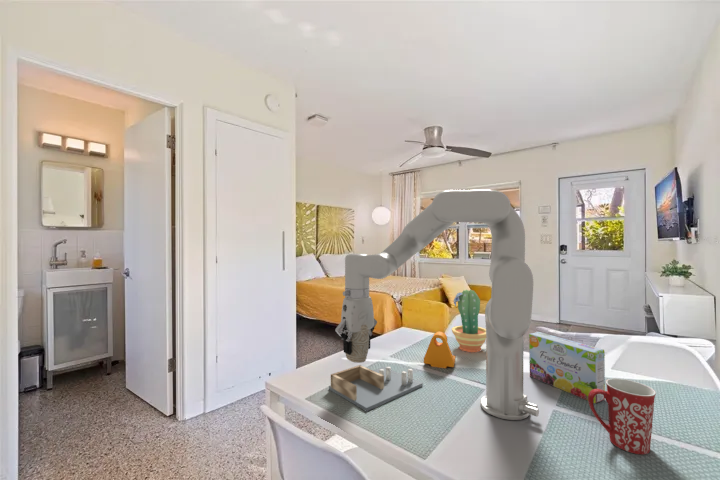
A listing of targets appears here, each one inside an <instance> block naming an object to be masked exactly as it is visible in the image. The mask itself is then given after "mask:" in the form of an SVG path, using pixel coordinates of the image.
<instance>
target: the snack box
mask: <svg viewBox="0 0 720 480" xmlns="http://www.w3.org/2000/svg"><path fill="white" fill-rule="evenodd" d="M528 336H529V337H528V341H529V345H528V347H529V348H528V350H529V359H528V360H529V377H530V378H533V379H535V380H538V381H539V382H542V383H545V384H548V385H549V386H551V387H553V388H557V389H559V390H561V391H563V392H566V393H568V394H571V395H573V396H575V397H578V398H580V399H583V400H585V401H588V395H589V393H590V391H591V390H593V389H601V390H604V391H606V388H605V387H606V386H605V385H606V380H605V378H606V375H605V373H606V368H605V366H606V365H605V362H606V360H605V358H606V357H605V356H606V355H605V349H603V348H601V347H600V348H599V347H595V346H591V345H588V344H585V343H582V342H581V343H580V342H577V341H573V340H570V339H567V338H563V337H560V336H556V335H551V334H549V333H544V332H542V331H536V332H532V333H528ZM602 401H606V399H605V397H604V396H603V395H602V394H597V395H595V397H594V399H593V404H598V403H600V402H602Z"/></svg>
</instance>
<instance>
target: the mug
mask: <svg viewBox="0 0 720 480" xmlns="http://www.w3.org/2000/svg"><path fill="white" fill-rule="evenodd" d="M605 385H606V390H605V391H604V390H601V389H593V390H591V391H590V393H589V395H588V400H587V402H588V406H589V409H590V410H591V412H592V414H593V415H594V417H595V418H596V420H597V421H598V423H600V425H601V426H602V427H603V428H604V429H605V431H606V432H608V436H609V440H610V442H611V443H612V444H613V445H614V446H615V447H617V448H619V449H621V450H623V451H626V452H629V453H632V454H635V455H648V454H649V453H650V452H651V444H652V433H653V432H652V431H653V420H654V410H655V397H656V395H657V392H656V390H655V389H654V388H652V387H651V386H649V385H647V384H644V383H641V382H637V381H635V380H630V379H624V378H616V377H615V378H608V379H606V380H605ZM597 394H602V395H603V396H604V397H605V402H606V403H607V411H608V412H607V414H608V424H607V423H606V422H605V421H604V420H603V419H602V418H601V416H600V415H599V414H598V413H597V411H596V408H595V406H594V403H593V399H594V397H595V395H597Z"/></svg>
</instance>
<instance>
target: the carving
mask: <svg viewBox="0 0 720 480" xmlns="http://www.w3.org/2000/svg"><path fill="white" fill-rule="evenodd" d="M367 328H368V327H367V325H362V326H361V328H360V329H362V330H360V331H359V332H356V333H352V336H351V339H350V341H351V342H352V353H351V354H350V355H349V354H347V353H344V354H345V358H346V359H347V360H348V361H349V362H353V363H356V364H357V363H364V362H366V360H367V357H368V353H369V349H368V348H369V333H368V332H369V331H368V329H367ZM347 335H348V333H347Z"/></svg>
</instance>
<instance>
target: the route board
mask: <svg viewBox="0 0 720 480" xmlns="http://www.w3.org/2000/svg"><path fill="white" fill-rule="evenodd" d="M372 371H375V372H377V373H379V374H382V375H384V388H383V389H380V388H378V387H376V386H374V385H372V384H370V383H368V382H366V381H364V380H362V379H357V380H354V381H351V382H350V383H352V384H354V385H356V386H357V400H352V399H350V398H349V397H347V396H345V395H343V394H342V393H340V392H338V391H336V390H335V389H333V388H331V385H329V386H328V390H330V391H331V392H332V393H334V394H336V395H338V396H340V397H341V398H343V399H344V400H346V401H348V402H350V403H352V404H353V405H355V406H356V407H358V408H360V409H362V410H363V411H365V412H368V411H371V410H373V409H376V408H378V407H380V406H382V405H384V404H386V403H388V402H391V401H393V400H395V399H397V398H400V397H402V396H404V395H406V394H408V393H411V392H413V391H415V390H418V389H420V388H421V387H422V388H423V385H424V384H423V382H421V381H418V380H416V379H414V377H413V376H414V370H413V369H412V368H409V369H408V368H407V371H405V370H404V371H403V370H402V371H401V373H400V372H397V371H394V370H393V369H392V367H391V366H386V367H385V366H382V367H379V368H376V369H374V370H372Z"/></svg>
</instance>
